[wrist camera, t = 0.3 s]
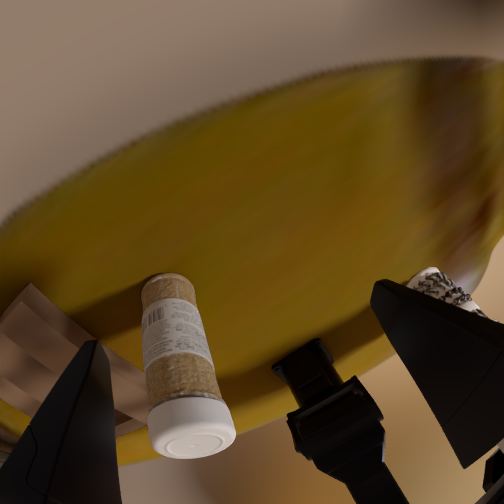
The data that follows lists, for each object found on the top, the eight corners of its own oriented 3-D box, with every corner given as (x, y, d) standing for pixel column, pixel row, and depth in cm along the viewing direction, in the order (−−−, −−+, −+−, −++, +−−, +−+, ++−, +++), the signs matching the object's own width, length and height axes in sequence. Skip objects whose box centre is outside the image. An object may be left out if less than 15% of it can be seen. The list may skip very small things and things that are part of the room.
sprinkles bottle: (160, 321, 25) (183, 466, 14) (129, 287, 22) (132, 445, 11) (205, 298, 25) (251, 442, 14) (177, 260, 22) (211, 418, 11)
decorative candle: (449, 260, 34) (571, 373, 14) (426, 312, 39) (526, 423, 18) (408, 267, 32) (551, 413, 11) (385, 325, 36) (494, 463, 16)
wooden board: (175, 392, 30) (178, 410, 28) (91, 432, 31) (91, 447, 29) (30, 282, 19) (21, 300, 17) (-30, 354, 19) (-36, 370, 17)
